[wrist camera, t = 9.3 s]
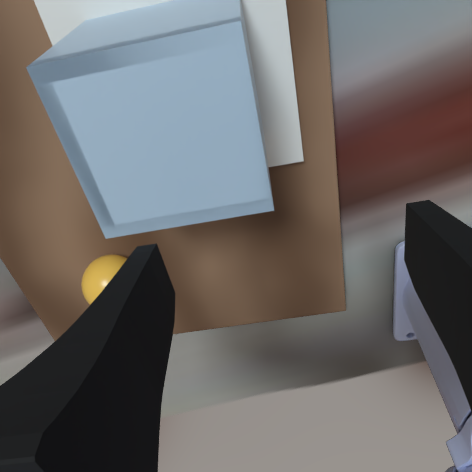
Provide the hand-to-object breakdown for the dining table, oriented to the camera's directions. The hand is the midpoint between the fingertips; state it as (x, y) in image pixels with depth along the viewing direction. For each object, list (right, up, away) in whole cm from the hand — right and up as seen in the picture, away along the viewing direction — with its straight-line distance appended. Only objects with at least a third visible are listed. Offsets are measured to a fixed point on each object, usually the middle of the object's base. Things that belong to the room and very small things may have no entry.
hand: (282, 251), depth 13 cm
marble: (-8, -2, +10) cm, 13 cm away
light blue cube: (-4, +7, +5) cm, 9 cm away
